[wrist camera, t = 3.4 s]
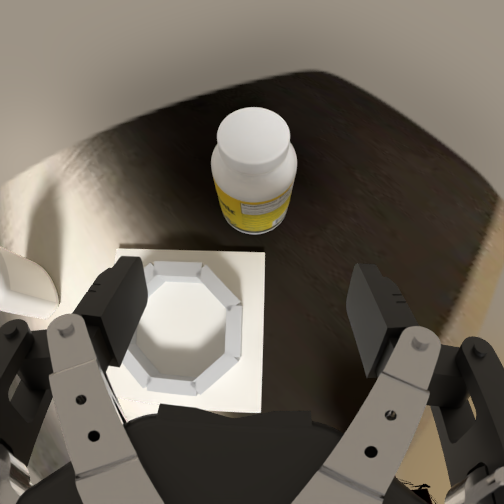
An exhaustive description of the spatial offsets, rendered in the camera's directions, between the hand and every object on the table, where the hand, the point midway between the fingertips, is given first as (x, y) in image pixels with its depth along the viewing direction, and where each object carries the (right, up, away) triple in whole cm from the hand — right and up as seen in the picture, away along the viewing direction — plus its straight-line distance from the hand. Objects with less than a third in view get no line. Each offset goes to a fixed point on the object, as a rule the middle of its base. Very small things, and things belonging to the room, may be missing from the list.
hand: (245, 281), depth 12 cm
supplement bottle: (0, +5, +14) cm, 15 cm away
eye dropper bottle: (-19, -3, +12) cm, 23 cm away
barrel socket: (-5, -5, +11) cm, 13 cm away
